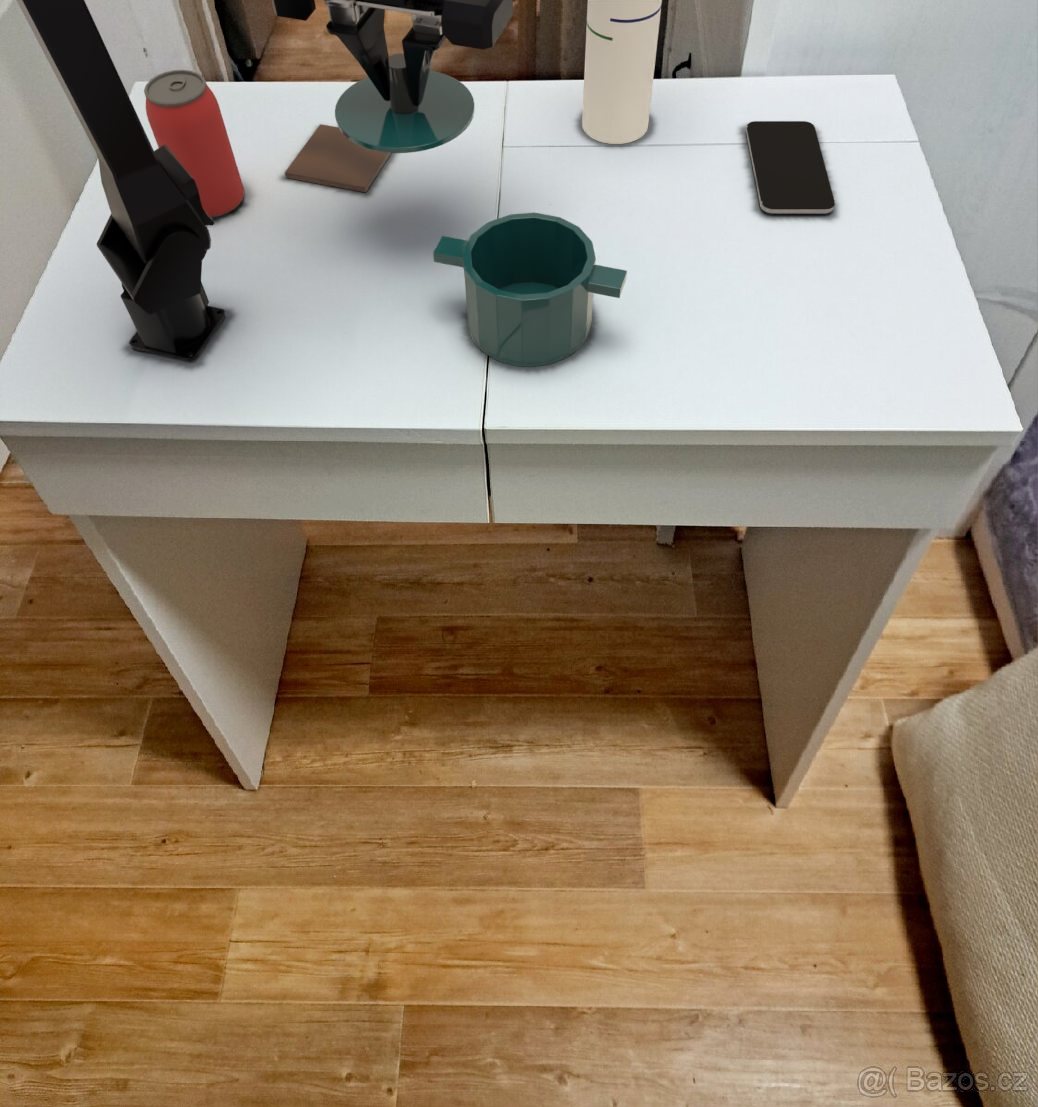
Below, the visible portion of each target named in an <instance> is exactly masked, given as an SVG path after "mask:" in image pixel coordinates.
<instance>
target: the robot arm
mask: <svg viewBox="0 0 1038 1107" xmlns="http://www.w3.org/2000/svg"><path fill="white" fill-rule="evenodd" d="M16 2H17V4H18V6H19V8H20V10H21V12H22V14H23V16H24V17H25V20H26V21H27V24H28V25H29V27H30V29H31V31H32V33H33V35H34V36H35V38H36V40H37V43H38V44H39V46H40V48H41V50H42V53H43V54H44V56H45V58H46V60H47V61H48V63H49V65H50V68H51V69H52V71H53V73H54V75H55V77H56V79H57V81H58V83H59V85H60V86H61V88H62V91H63V92H64V94H65V96H66V98H67V100H68V101H69V104H70V106H71V108H72V109H73V111H74V113H75V116H76V118H77V119H78V121H79V123H80V125H81V127H82V129H83V130H84V132H85V134H86V136H87V139H88V140H89V142H90V144H91V146H92V147H93V150H94V151H95V155H96V156H97V157H96V158H97V160H98V166H99V167H98V168H99V174H100V175H99V176H100V180H101V185H102V188H103V192H104V195H105V199H106V202H107V204H108V207H109V210H110V215H109V217H108V219H107V221H106V223H105V225H104V227H103V230H102V231H101V234H100V236H99V237H98V240H97V242H96V247H97V249H98V250H99V251H100V253H101V254H102V257H103V258H104V259H105V260H106V262H107V263H108V264H109V266H110V268H111V269H112V271H113V272H114V273H115V275H116V277H117V278H118V279H119V281H120V283H121V287H122V289H123V292H122V293H121V294H120V299H121V301H122V302H123V304H124V307H125V309H126V311H127V313H128V315H129V317H130V320H131V321H132V323H133V325H134V327H135V330H136V331H135V333H134V334H133V336H132V337H131V338H130V340H129V342H128V344H129V346H130V348H131V349H133V350H136V351H140V352H141V351H142V352H146V353H150V354H155V355H159V356H163V357H167V358H172V359H175V360H176V359H177V360H181V361H185V362H191V363H192V362H194V361H196V360H198V357H200V354H201V353H202V351H203V350H204V349H205V347H206V346H207V344H208V343H209V341H210V340H211V339H212V337H213V335H214V334H215V333H216V331H217V330H218V329H219V327H220V326H221V324H222V323H223V321H224V320H225V318H226V317H227V313H226V311H225V309H224V308H220V307H216V306H211V305H209V303H210V300H209V297H208V295H207V292H206V290H205V288H204V285H203V282H202V273H203V272H202V271H203V268H202V267H203V260H204V259H205V257H206V255H207V253H208V251H209V250H210V249H211V247H212V237H211V235H210V230H209V228H208V226H210V227H211V226H214V225H215V221H214V220H213V219H212V217H210V216H209V215H208V214H207V212H206V211H205V210H204V209H203V207H202V204H201V200H200V195H199V191H198V188H197V185H196V183H195V180H194V179H193V178H192V176H191V175H190V174H189V173H188V171H187V170H186V169H185V168H184V167H183V165H182V164H181V163H180V162H179V160H178V159H177V158H176V157H175V156H174V154H173V153H172V152H171V151H170V149H169V148H168V147H167V146H166V145H165V144H164V145H162V146H161V147H159V148H156V149H155V150H154V147H153V146H152V144H151V141H150V139H149V137H148V135H147V133H146V131H145V129H144V127H143V124H142V122H141V120H140V118H139V115H138V113H137V111H136V109H135V107H134V105H133V102H132V100H131V98H130V96H129V93H128V92H127V90H126V87H125V85H124V82H123V81H122V79H121V76H120V74H119V72H118V70H117V68H116V65H115V64H114V61H113V59H112V58H111V55H110V53H109V50H108V47H107V46H106V44H105V42H104V40H103V38H102V35H101V33H100V31H99V29H98V26H97V25H96V23H95V22H96V21H95V20H94V17H93V16H92V14H91V11H90V9H89V7H88V5H87V3H86V1H85V0H16ZM323 2H324V5H325V6H327V10H328V11H327V12H328V17H329V20H328V22H327V23H326V25H325V27H326V28H325V29H326V31H327V33H328V34H329V35H333V36H336V37H337V38H338V39H339V40H340V41H341V43H342V44H343V45H344V47H345V48H346V49H347V50H348V52H349V53H350V54H351V55H352V57H354V59H355V60H356V62H358V64H359V65H360V67H361V68H362V70H363V71H364V72H365V74H366V75H367V77H369V78H370V80H371V81H372V83H373V84H374V86H375V87H376V89H377V90H378V92H379V93H380V95H381V96H382V97H383V99H384V100H385V101H390V97H389V90H388V83H387V75H386V68H385V60H386V59H387V58H388V57H389V56H390V55H389V50H388V45H387V44H388V43H387V39H386V31H385V14H386V11H393V12H398V13H399V12H400V13H405V14H410V17H411V18H410V19H411V22H412V26H411V28H410V29H409V30H408V31H407V33H406V34H405V36H404V37H403V38H402V39H401V45H402V51H403V54H404V59H405V64H406V71H407V77H408V83H409V89H410V94H411V97H412V101H413V104H414V106H419V105H420V104H421V102H422V100H423V96H424V92H425V88H426V84H427V79H428V75H429V71H431V66H432V62H433V58H434V54H435V52H436V51H437V50H439V49H440V48H441V47H442V45H443V44H444V42H445V41H446V39H447V40H448V41H449V42H450V44H451V45H452V46H459V47H465V48H470V49H476V50H477V49H478V50H483V51H485V50H487V49H491V48H493V47H494V46H495V44H496V43H497V41H498V40H499V38H500V37H501V35H502V34H503V32H504V30H505V28H506V27H507V25H508V24H509V23H510V21H511V19H512V18H513V16H514V0H323ZM271 5H272V9H273V12H274V14H275V15H276V16H277V17H280V18H287V19H292V20H297V21H298V20H299V21H306V22H307V20H308V19H309V18H310V17H311V16H312V15H313V13H314V12H315V11H316V10H317V6H316V0H271Z"/></svg>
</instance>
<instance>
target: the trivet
mask: <svg viewBox="0 0 1038 1107" xmlns="http://www.w3.org/2000/svg"><path fill="white" fill-rule="evenodd" d="M391 154H392V153H387V152H380V151H375V150H371V149H367V148H364V147H362V146H360V145H357V144H355V143H354V142H352V141H350V140H349V139H348V138H347V137H345V136H344V135H343V133H342V132H341V131H340V129H339V128H338V126H333V125H327V124H318V126H317V128H316V130H315V131H314V132H313V133H312V135H311V136H310V137H309V139H308V140H307V142H305V144H304V146H303V147H302V148H301V149H300V151H299V152H298V154H297V155H296V157H295V158H294V159H293V161H292V162H291V164H290V165H289V166H288V167H287V169H286V170H285V171H284V176H285V178H286V179H291V180H296V181H301V182H307V183H313V184H318V185H323V186H329V187H334V188H341V189H345V190H350V191H355V192H360V193H361V192H362V193H367V192H368V191H369V189H370V187H371V185H372V184H373V182H374V181H375V180H376V178H377V176H378V175H379V173H380V171H381V170H382V168H383V167H384V166H385V164H386V163H387V161H388V159H389V157H390V156H391Z"/></svg>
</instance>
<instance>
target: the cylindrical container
mask: <svg viewBox="0 0 1038 1107" xmlns="http://www.w3.org/2000/svg"><path fill="white" fill-rule="evenodd" d="M662 3H663V0H587V7H586V8H587V9H586V30H585V51H584V53H585V54H584V56H585V57H584V73H583V93H582V94H583V96H582V97H583V98H582V116H581V117H582V118H581V126H582V130H583V131H584V133H585V134H586V135H587V136H588V137H589V138H591V139H592V140H595V141H597V142H600V143H603V144H609V145H623V144H628V143H629V144H630V143H632V142H635V141H637V140H639V139H641V138H642V137H643V136H645V134H646V133H647V131H648V129H649V123H650V122H649V121H650V113H651V103H652V93H653V85H654V76H655V75H654V74H655V66H656V59H657V58H656V57H657V50H658V40H659V31H660V23H661V12H662Z"/></svg>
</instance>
